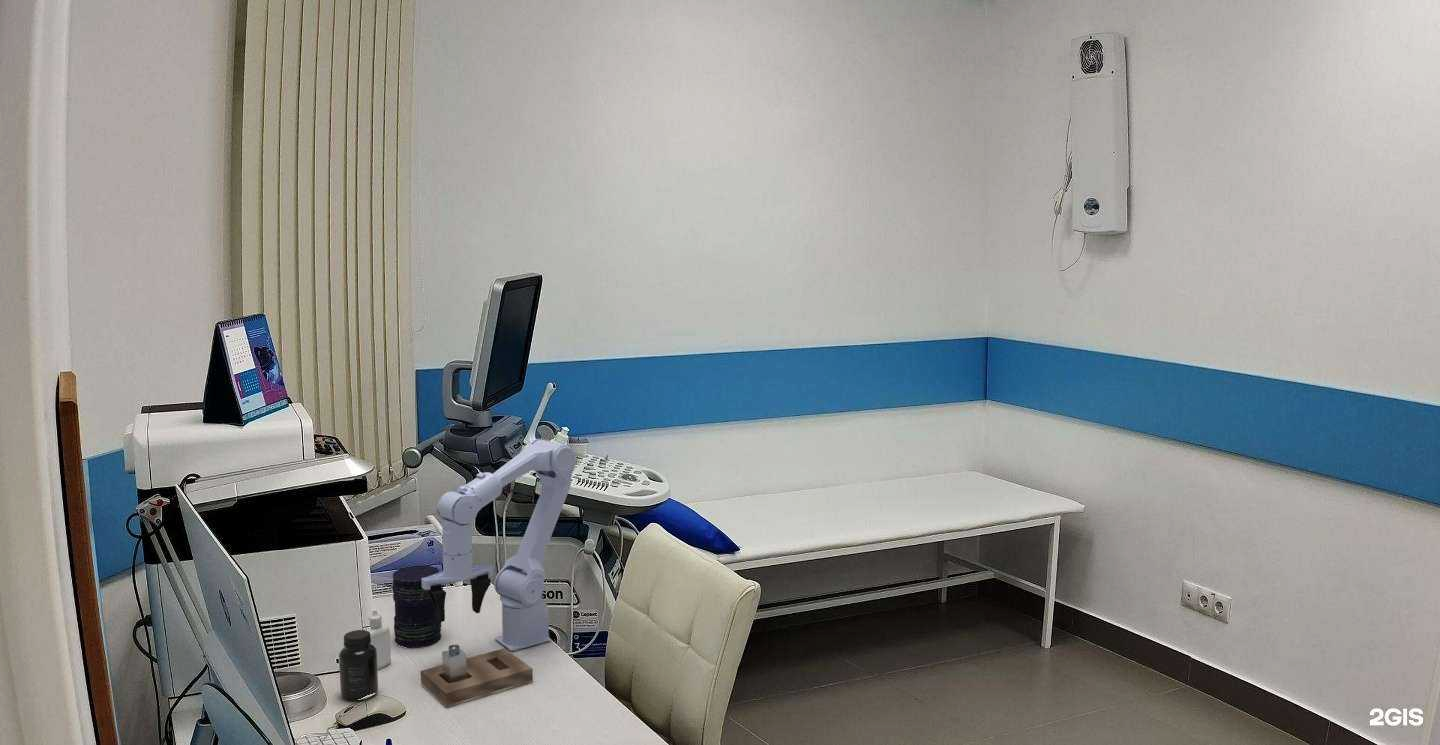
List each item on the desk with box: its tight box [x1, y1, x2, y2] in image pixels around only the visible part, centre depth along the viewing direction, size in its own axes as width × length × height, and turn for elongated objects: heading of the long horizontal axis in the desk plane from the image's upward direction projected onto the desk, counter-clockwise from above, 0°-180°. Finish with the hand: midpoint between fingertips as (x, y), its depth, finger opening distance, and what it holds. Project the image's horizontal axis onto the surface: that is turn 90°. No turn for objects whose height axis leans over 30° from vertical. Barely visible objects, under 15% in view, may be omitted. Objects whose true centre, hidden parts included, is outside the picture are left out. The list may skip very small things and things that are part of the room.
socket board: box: [420, 647, 534, 709], centre depth 203 cm, size 18×12×3 cm, turn 128°
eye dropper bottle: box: [368, 608, 392, 671], centre depth 209 cm, size 4×6×12 cm
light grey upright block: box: [441, 644, 467, 684], centre depth 200 cm, size 3×3×8 cm
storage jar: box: [392, 564, 442, 649], centre depth 222 cm, size 10×10×15 cm
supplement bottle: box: [338, 629, 379, 702], centre depth 197 cm, size 7×7×12 cm
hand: (458, 615), depth 210 cm, fingers open, 7 cm apart
